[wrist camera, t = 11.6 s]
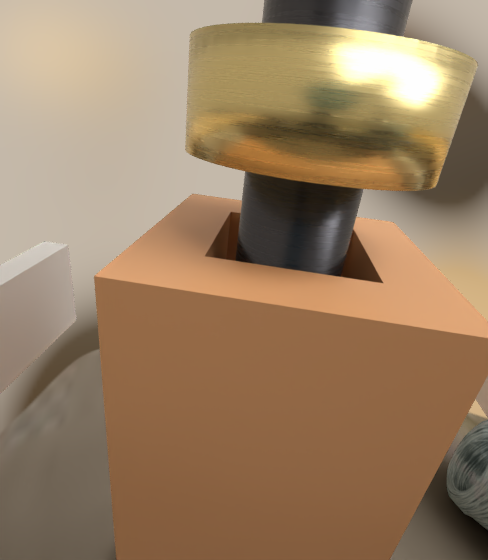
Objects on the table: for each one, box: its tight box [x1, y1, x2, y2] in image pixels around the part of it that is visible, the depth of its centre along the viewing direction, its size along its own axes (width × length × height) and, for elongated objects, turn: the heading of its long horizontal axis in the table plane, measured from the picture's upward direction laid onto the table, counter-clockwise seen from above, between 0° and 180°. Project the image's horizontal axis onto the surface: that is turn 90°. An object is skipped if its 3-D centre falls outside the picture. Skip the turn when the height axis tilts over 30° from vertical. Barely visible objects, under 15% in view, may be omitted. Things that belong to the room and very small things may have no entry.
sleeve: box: [94, 194, 488, 560], centre depth 8 cm, size 5×5×8 cm
